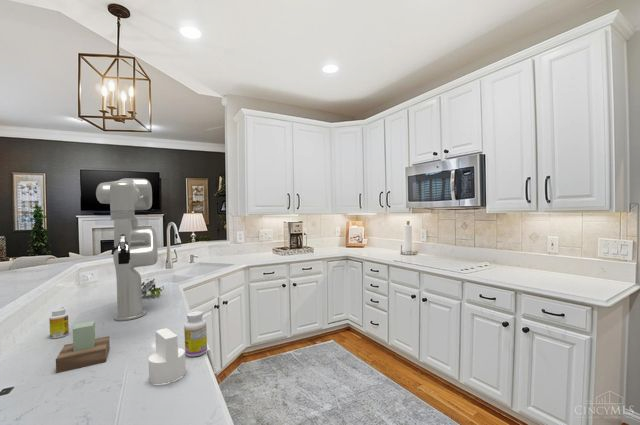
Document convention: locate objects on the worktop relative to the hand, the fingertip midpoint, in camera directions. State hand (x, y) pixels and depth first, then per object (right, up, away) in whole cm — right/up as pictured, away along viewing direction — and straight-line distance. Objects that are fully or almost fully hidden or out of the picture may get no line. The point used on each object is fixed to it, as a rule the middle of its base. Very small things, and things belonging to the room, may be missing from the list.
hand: (124, 262), depth 114 cm
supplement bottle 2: (+32, -27, -14) cm, 45 cm away
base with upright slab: (+30, -27, -28) cm, 50 cm away
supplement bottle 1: (-28, -30, +5) cm, 41 cm away
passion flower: (-23, -30, +60) cm, 71 cm away
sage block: (-3, -24, -16) cm, 29 cm away
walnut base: (-2, -28, -16) cm, 33 cm away
